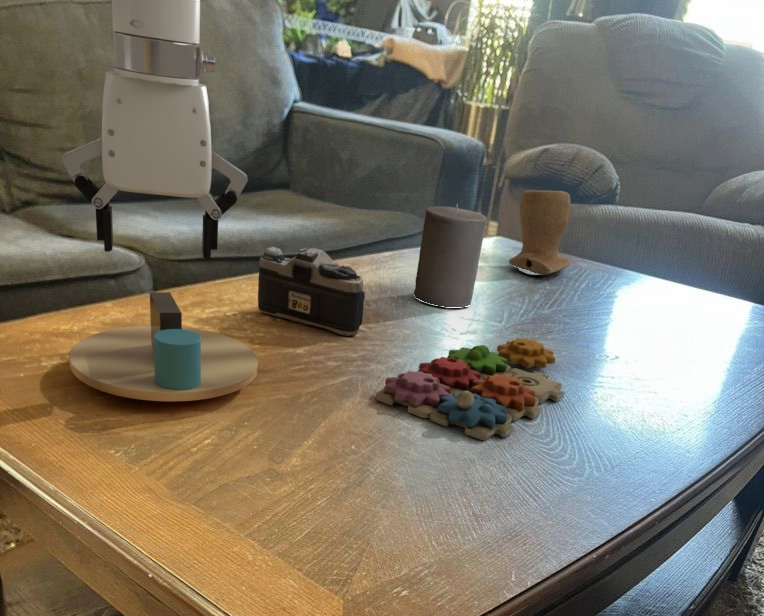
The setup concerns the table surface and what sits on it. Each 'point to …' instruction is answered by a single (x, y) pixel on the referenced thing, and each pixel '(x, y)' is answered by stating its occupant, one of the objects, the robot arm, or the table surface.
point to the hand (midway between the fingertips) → (158, 252)
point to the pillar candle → (449, 256)
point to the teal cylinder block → (177, 359)
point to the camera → (311, 290)
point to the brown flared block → (542, 231)
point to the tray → (136, 359)
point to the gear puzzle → (477, 388)
